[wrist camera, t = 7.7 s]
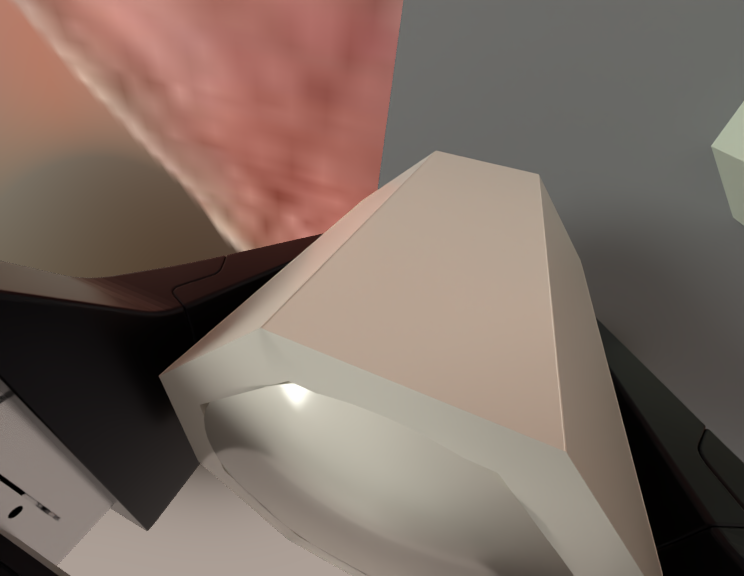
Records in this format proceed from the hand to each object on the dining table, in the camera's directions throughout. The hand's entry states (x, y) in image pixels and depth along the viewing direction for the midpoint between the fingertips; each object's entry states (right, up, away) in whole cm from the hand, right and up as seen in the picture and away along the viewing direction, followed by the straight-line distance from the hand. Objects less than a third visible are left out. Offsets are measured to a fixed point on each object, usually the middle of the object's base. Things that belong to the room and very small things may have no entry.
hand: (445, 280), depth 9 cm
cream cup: (0, +1, +1) cm, 1 cm away
